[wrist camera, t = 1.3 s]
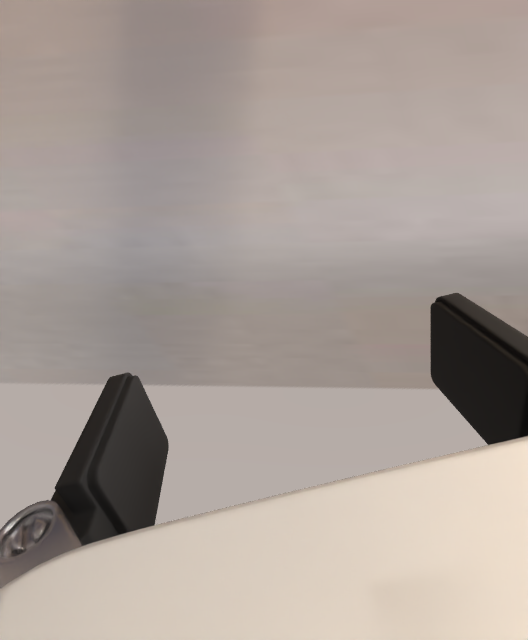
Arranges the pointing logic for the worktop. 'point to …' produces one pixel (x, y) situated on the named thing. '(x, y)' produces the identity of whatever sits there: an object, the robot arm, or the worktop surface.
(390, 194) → the worktop surface
